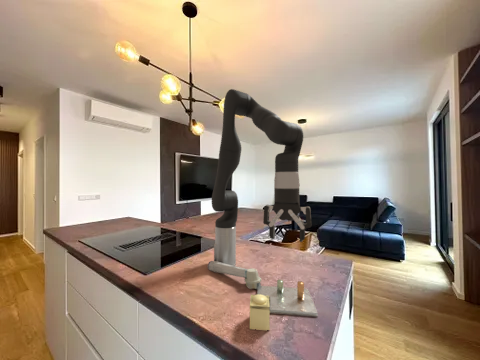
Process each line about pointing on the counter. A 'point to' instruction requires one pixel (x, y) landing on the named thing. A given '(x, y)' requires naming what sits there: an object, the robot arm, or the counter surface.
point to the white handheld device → (237, 273)
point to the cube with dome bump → (259, 312)
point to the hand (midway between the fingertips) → (286, 239)
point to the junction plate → (289, 299)
